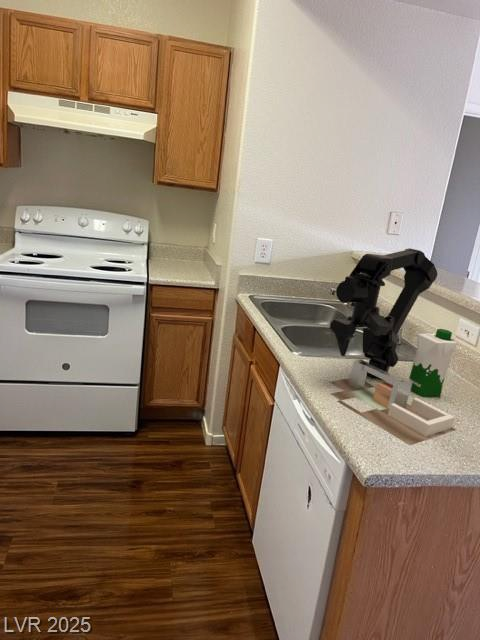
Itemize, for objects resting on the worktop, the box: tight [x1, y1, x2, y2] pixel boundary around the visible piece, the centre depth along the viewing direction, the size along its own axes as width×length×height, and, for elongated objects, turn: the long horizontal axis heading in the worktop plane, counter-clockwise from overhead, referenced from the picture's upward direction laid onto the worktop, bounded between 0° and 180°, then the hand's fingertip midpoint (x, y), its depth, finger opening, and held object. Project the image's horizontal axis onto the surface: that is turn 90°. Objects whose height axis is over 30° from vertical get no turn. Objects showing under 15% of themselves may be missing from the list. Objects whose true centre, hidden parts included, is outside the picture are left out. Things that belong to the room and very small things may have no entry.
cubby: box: [388, 397, 456, 436], centre depth 119 cm, size 11×11×3 cm
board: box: [329, 377, 457, 446], centre depth 125 cm, size 19×32×2 cm, turn 35°
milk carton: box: [408, 328, 458, 399], centre depth 137 cm, size 9×9×20 cm
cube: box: [373, 380, 393, 408], centre depth 127 cm, size 5×5×5 cm
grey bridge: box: [349, 359, 413, 410], centre depth 130 cm, size 6×16×8 cm, turn 37°
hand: (353, 354), depth 135 cm, fingers open, 9 cm apart
